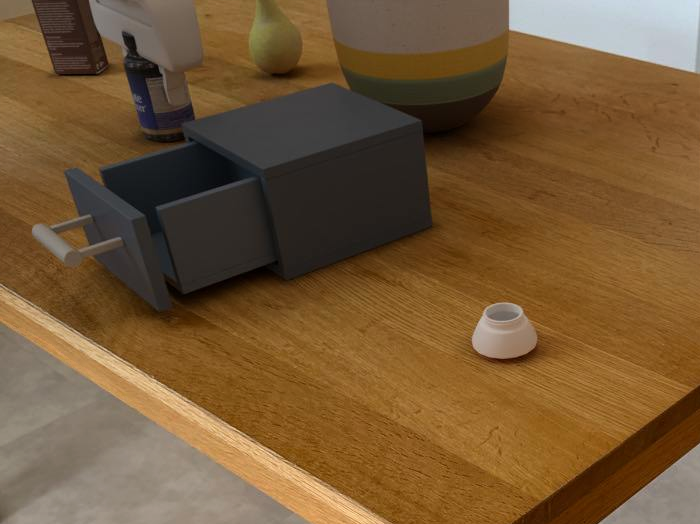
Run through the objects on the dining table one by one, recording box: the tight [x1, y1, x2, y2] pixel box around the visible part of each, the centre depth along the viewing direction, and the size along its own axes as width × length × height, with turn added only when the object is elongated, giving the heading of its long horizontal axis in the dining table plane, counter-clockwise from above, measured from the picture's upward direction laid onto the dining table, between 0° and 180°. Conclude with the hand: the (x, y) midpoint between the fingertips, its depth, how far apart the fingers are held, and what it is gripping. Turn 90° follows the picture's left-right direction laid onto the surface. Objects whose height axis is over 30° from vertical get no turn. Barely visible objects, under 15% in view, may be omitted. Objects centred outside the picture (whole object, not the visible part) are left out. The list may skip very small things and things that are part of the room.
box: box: [30, 0, 110, 75], centre depth 131 cm, size 6×4×12 cm
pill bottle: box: [122, 31, 197, 143], centre depth 112 cm, size 6×6×11 cm
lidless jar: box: [471, 302, 538, 360], centre depth 77 cm, size 5×3×5 cm
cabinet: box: [181, 82, 433, 281], centre depth 92 cm, size 16×15×10 cm
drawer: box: [31, 140, 278, 313], centre depth 86 cm, size 20×14×8 cm
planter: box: [325, 0, 510, 134], centre depth 109 cm, size 20×20×21 cm
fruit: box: [248, 0, 303, 75], centre depth 127 cm, size 7×8×12 cm
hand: (161, 95), depth 113 cm, fingers closed on pill bottle, 6 cm apart
